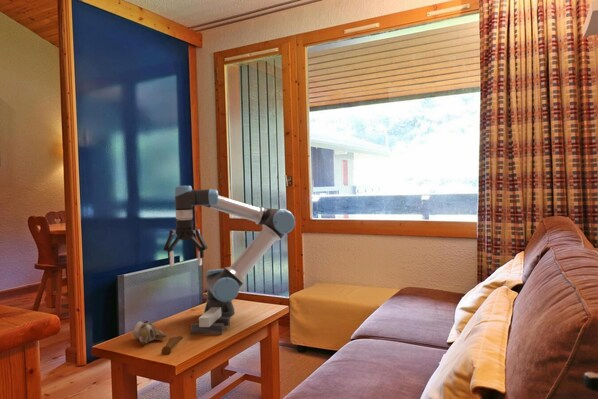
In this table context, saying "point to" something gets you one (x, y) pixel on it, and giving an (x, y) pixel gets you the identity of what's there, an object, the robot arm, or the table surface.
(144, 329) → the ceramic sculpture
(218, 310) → the clay strip
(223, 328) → the dark grey rimmed tray
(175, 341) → the primitive tool
